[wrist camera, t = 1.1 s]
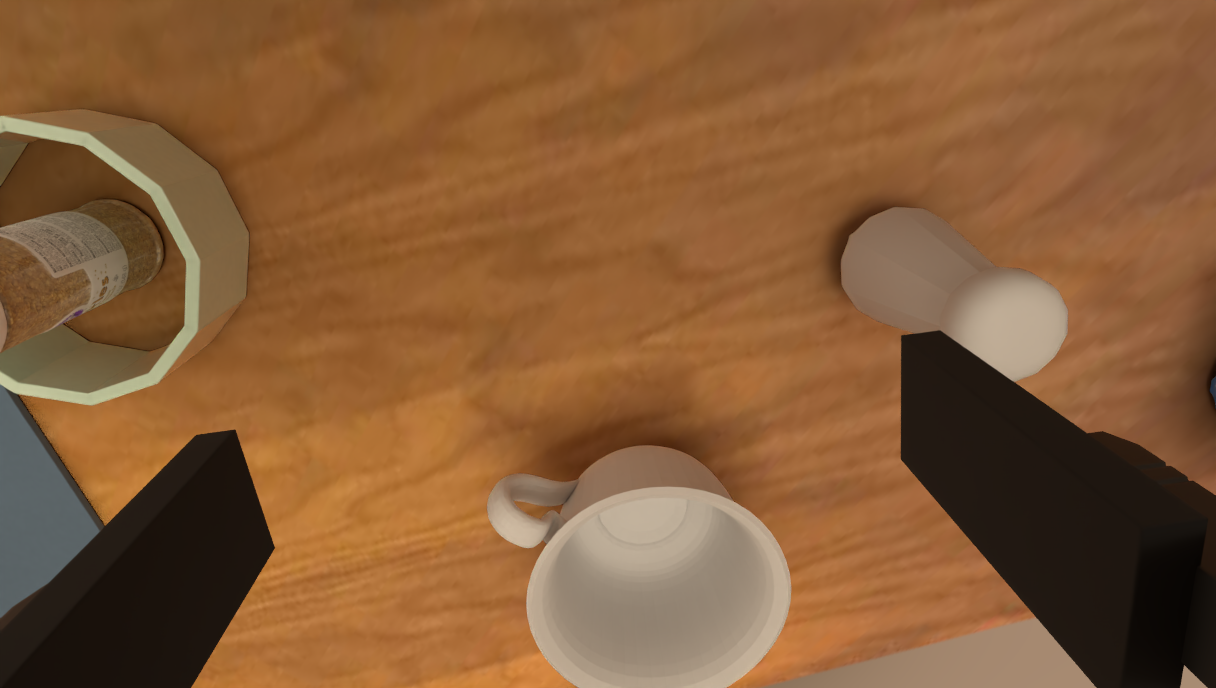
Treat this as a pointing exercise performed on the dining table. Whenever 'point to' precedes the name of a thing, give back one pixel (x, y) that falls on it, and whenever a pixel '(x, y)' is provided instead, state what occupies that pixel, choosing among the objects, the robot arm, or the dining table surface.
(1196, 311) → the dining table surface
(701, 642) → the teacup
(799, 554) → the dining table surface
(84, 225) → the sprinkles bottle
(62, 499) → the rubber mat
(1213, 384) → the snack cup
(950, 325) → the salt shaker
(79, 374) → the pale green ring
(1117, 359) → the dining table surface
